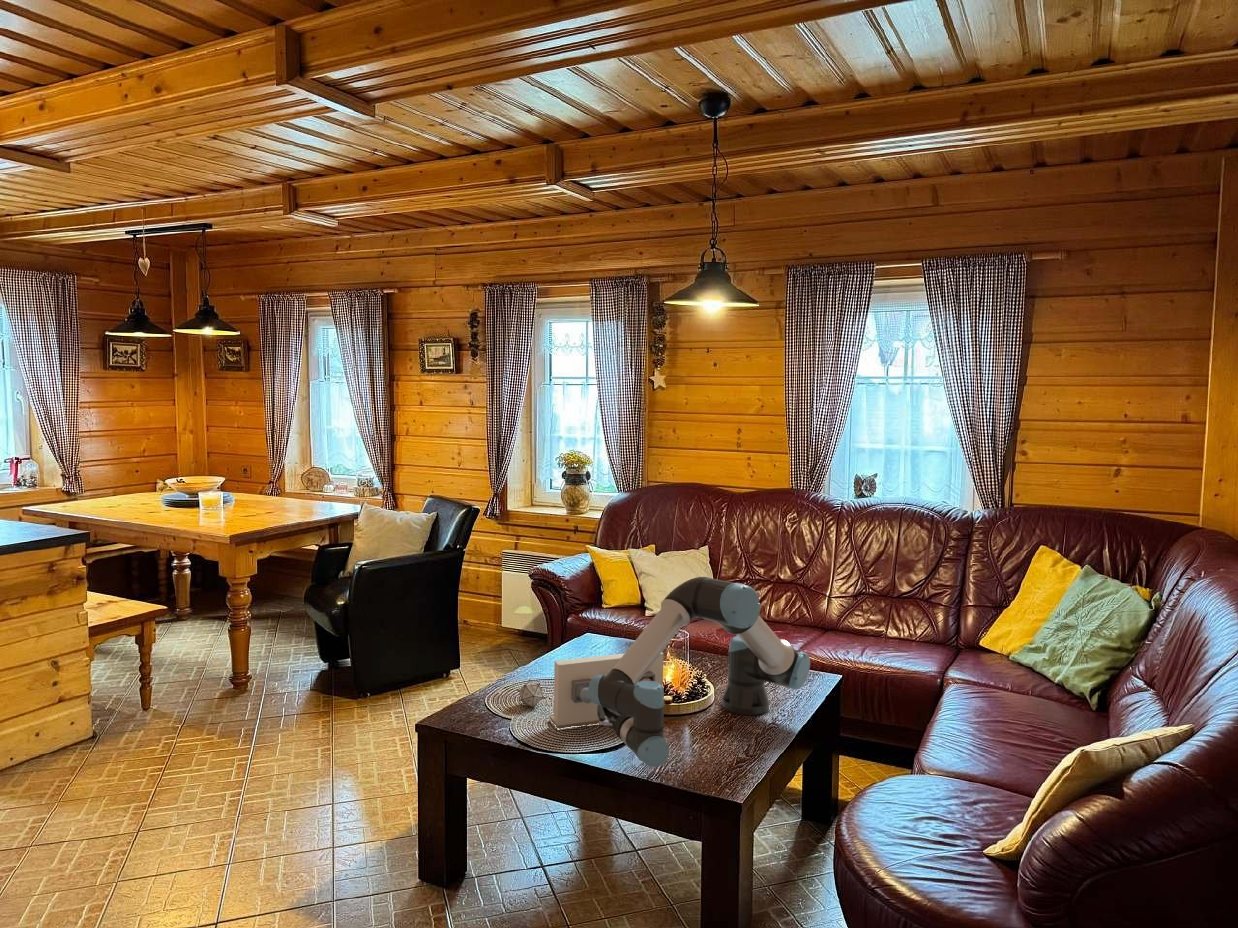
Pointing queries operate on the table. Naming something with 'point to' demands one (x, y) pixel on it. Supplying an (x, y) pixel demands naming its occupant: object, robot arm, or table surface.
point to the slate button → (584, 695)
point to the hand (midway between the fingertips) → (599, 698)
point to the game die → (531, 694)
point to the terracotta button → (644, 679)
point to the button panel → (578, 676)
